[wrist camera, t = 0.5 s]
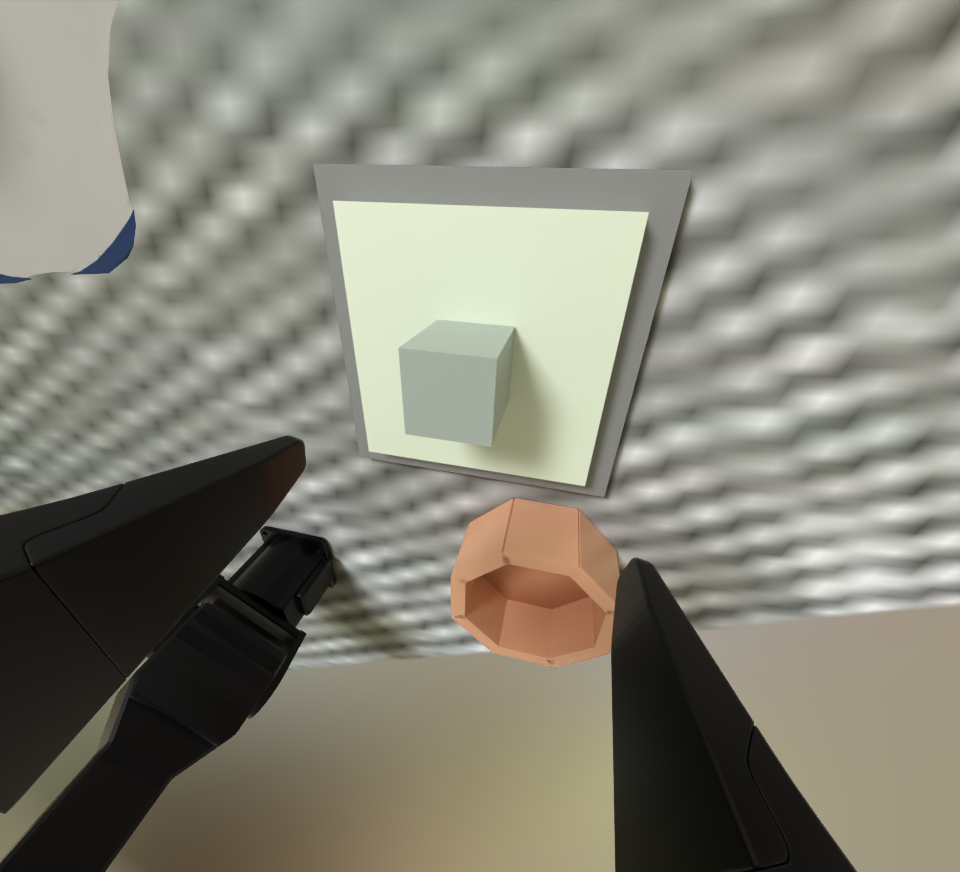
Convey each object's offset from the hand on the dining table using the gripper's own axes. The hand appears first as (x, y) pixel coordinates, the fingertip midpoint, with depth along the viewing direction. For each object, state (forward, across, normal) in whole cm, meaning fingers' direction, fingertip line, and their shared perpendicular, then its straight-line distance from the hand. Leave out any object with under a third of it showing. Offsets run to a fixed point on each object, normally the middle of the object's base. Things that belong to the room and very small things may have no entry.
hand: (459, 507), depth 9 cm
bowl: (+13, -5, +16) cm, 21 cm away
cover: (+12, +2, +1) cm, 13 cm away
